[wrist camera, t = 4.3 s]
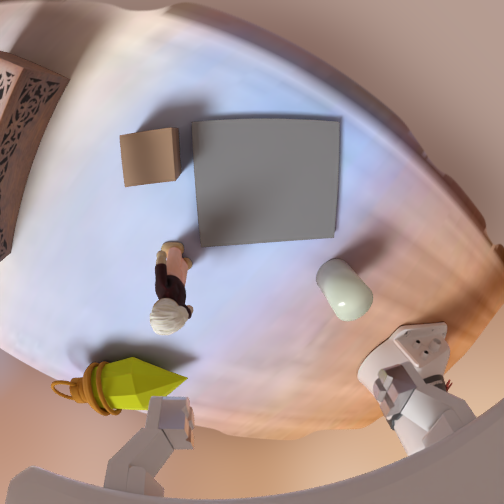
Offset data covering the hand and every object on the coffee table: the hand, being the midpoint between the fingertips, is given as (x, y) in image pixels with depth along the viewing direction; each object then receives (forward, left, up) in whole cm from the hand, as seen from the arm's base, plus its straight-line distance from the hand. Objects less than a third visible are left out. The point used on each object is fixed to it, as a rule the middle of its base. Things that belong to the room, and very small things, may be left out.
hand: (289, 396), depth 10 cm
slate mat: (-4, -4, -24) cm, 24 cm away
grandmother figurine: (+7, +5, -24) cm, 26 cm away
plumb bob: (+21, +24, -24) cm, 40 cm away
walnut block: (+8, -8, -24) cm, 27 cm away
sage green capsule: (-13, +9, -24) cm, 28 cm away
